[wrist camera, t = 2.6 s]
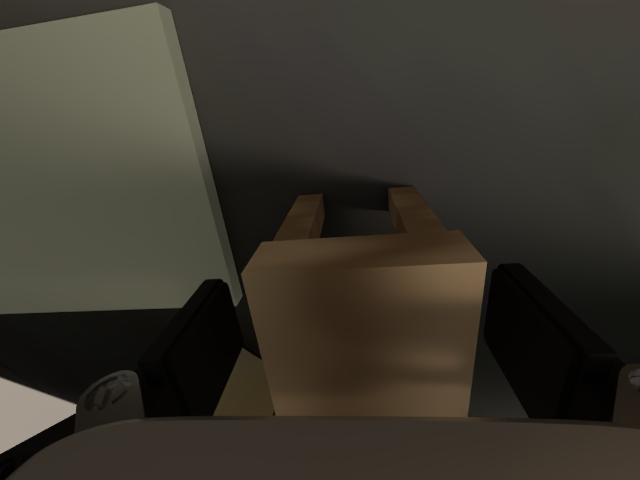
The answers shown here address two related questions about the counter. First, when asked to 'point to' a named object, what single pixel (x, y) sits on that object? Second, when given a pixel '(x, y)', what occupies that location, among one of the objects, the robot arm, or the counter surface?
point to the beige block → (246, 389)
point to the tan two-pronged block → (367, 314)
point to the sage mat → (104, 169)
